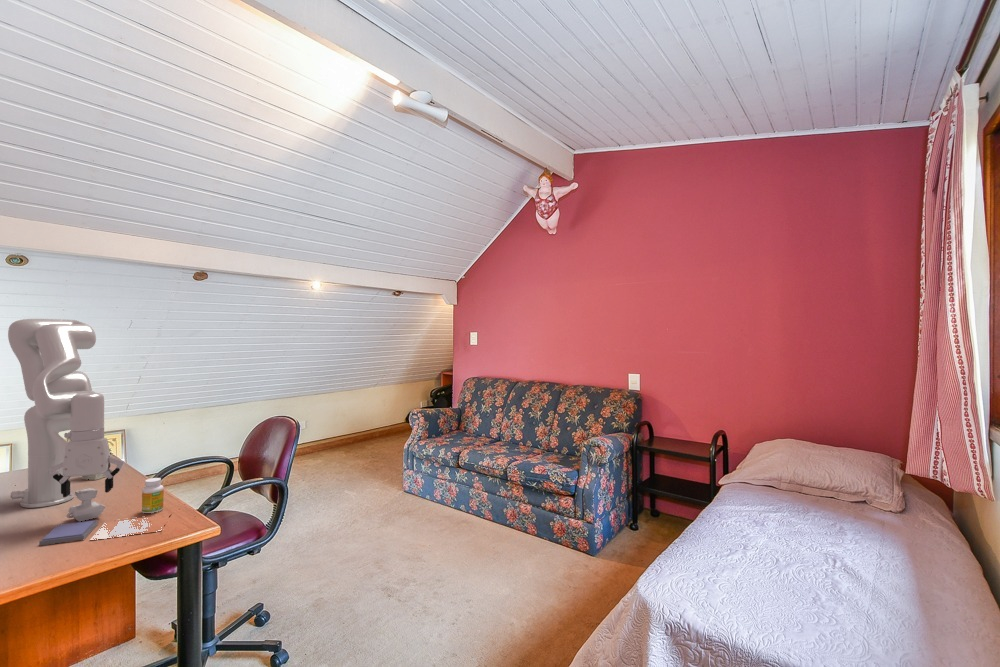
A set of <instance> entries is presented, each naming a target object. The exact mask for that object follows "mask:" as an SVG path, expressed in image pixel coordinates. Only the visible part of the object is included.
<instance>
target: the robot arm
mask: <svg viewBox="0 0 1000 667" xmlns="http://www.w3.org/2000/svg"><path fill="white" fill-rule="evenodd" d="M7 330H8V331H7V332H8V333H7V338H8V342H9V343H8V344H9V346H10V348H11V350H12V352H13V354H14V355H15V357H16V359H17V360H18V362H19V365H20V369H21V374H22V379H23V380H22V381H23V384H24V390H25V394H26V396H27V398H28V399H29V400H30V401H32V402H34V406H31V407H30V408H28V409H27V410H26V411H25V413H24V418H23V419H24V420H23V421H24V426H25V430H26V434H27V435H26V436H27V489H24V490H15V491H13V490H12V491H11V492H10V498H11V499H12V500H18V499H22V500H21V501H20V507H23V508H29V509H32V508H34V509H35V508H45V507H50V506H55V505H58V504H64V503H65V502H68V501H71V500H72V499H73V498H75V492H73V491H71V481H70V480H69V479H70V478H72V477H73V478H75V477H77V478H78V477H82V476H87V475H96V474H103V475H105V476H106V477H105V479H104V493H106V494H107V493H110V491H111V490H112V489H113V488H114V477H115V476H116V475H117V474H118V473H119V472H120V471H121V469H122V468H123V466H124V465H125V461H124V460H121V459H118V458H116V457H112V456H111V454H110V453H111V451H110V447H109V446H110V445H109V440H108V438H107V437H105V397H104V395H103V394H102V393H101V392H95V391H93V390H92V384H91V380H90V379H89V378H90V377H88V375H87V374H86V373H84V372H83V371H80V370H79V369H80V367H81V366H82V360H81V358H80V355H79V352H78V350H89V349H92V348H93V347H94V346H95V345H96V341H97V337H96V332H95V331H94V329H93V327H92V326H91V325H89V324H87V323H85V322H82V321H79V320H75V319H61V318H60V319H56V318H55V319H54V318H53V319H51V318H26V319H25V318H24V319H19V320H16V321H14V322H11V324H10V325H9V327H8V329H7ZM78 370H79V371H78ZM66 431H69V432H66ZM61 432H65V433H64V434H63V436H64V437H63V436H61V435H60V434H59V433H61ZM65 438H67V439H69V441H67V439H65ZM111 464H114V465H116V466H115V469H113V470H112V469H111Z"/></svg>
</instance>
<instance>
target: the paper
mask: <svg viewBox="0 0 1000 667" xmlns="http://www.w3.org/2000/svg"><path fill="white" fill-rule="evenodd" d="M144 519H146V518H144ZM147 519H148V518H147ZM132 520H133V521H136V520H135V519H132ZM132 520H131V521H132ZM128 521H129V520H124V521H119V522H118V524H117V526H115V527H114V529H113V530H112V531H111V532H110V534H109V535H108V533H109V532H108V530H106V528H104V527H103V526H105V525H104V524H106V523H105V522H104V523H103V524H102V525H101V527H103V528H101V527H100V528H101V529H100V528H99V529H98V530H97V531H96V532H95V534H96V535H95V534H94V535H93V536H92V537H91V538H90V539H89V540H94V539H95V538H97V541H99V540H98V539H104V540H108V539H107V538H111V539H115V538H114V537H113V538H112V537H111V536H113V535H114V536H116V535H117V537H119V538H123V537H122V536H125V534H126V537H130V536H129V535H128V536H127V534H129V533H130V534H131V533H136V532H137V533H138V532H143V531H146V530H147V531H148V529H145V528H146V527H148V523H147V521H146V520H145V521H146V523H145V521H144V520H143V519H142V522H143V523H142V522H141V521H140V522H141V525H143V526H142V527H141V529H140V530H139V529H138V526H137V529H136V527H133V525H132V523H131V521H129V522H128ZM133 521H132V522H133ZM137 521H138V520H137ZM123 522H124V523H123ZM148 522H149V521H148ZM130 524H131V525H130ZM133 524H134V523H133ZM138 524H139V525H140V523H138ZM106 525H107V524H106ZM151 525H152V524H151ZM131 526H132V528H131ZM134 526H135V525H134ZM105 527H106V526H105ZM129 527H130V528H129ZM139 527H140V526H139ZM149 527H150V523H149ZM134 528H135V529H134ZM143 528H144V529H143ZM161 528H162V527H161ZM104 529H105V530H104ZM107 529H108V528H107ZM99 530H100V531H99ZM161 530H162V529H161ZM161 530H158V531H161ZM109 531H110V530H109ZM115 531H116V532H115ZM107 532H108V533H107ZM143 533H144V532H143ZM156 533H158V532H157V531H156ZM97 534H99V535H97ZM120 534H121V535H120ZM118 535H119V536H118ZM131 535H132V534H131ZM133 535H134V534H133ZM141 535H143V534H142V533H141ZM109 536H110V537H109ZM134 536H135V535H134ZM93 538H94V539H93ZM95 540H96V539H95Z"/></svg>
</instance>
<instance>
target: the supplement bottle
mask: <svg viewBox="0 0 1000 667" xmlns="http://www.w3.org/2000/svg"><path fill="white" fill-rule="evenodd" d="M161 483H162V478H161V477H152V478H147V479H145V481H144V487H143V488H142V490H141V513H142V514H144V513H151V514H155V513H154V512H157V513H159V512H161V511H163V510H164V497H165V496H164V491H165V490H164V489H165V488H164V487H165V486H164V485H162V484H161ZM162 509H163V510H162ZM158 511H159V512H158Z"/></svg>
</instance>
